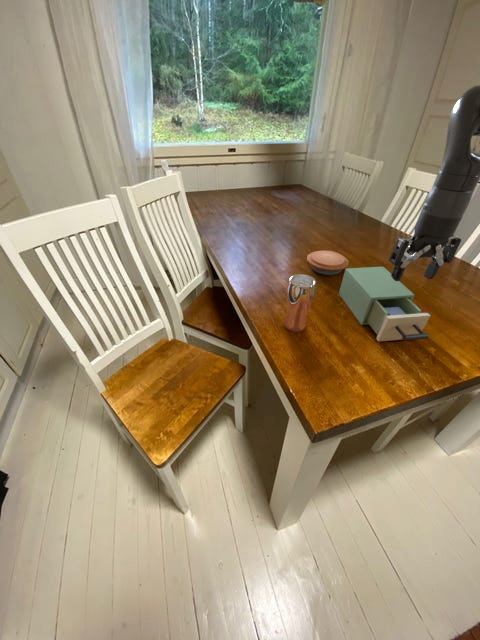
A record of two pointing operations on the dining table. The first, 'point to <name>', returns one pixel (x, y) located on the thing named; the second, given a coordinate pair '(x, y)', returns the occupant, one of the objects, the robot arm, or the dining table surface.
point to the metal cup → (299, 301)
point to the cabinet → (369, 289)
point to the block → (394, 311)
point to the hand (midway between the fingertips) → (411, 278)
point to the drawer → (397, 320)
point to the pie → (327, 262)
